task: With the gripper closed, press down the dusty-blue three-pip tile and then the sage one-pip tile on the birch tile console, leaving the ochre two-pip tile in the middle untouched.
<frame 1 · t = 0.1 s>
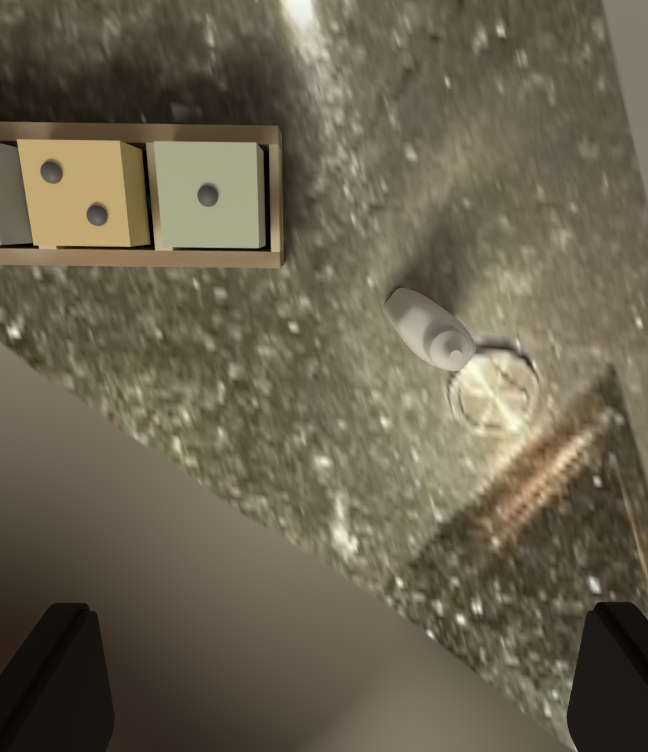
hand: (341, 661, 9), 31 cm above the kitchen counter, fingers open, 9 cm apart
tile one sage: (214, 197, 31), point 5 cm above the kitchen counter, slide at 0.0 cm
eye dropper bottle: (416, 316, 39), on the kitchen counter
tile console: (121, 199, 36), on the kitchen counter
tile two ochre: (88, 196, 31), point 5 cm above the kitchen counter, slide at 0.0 cm
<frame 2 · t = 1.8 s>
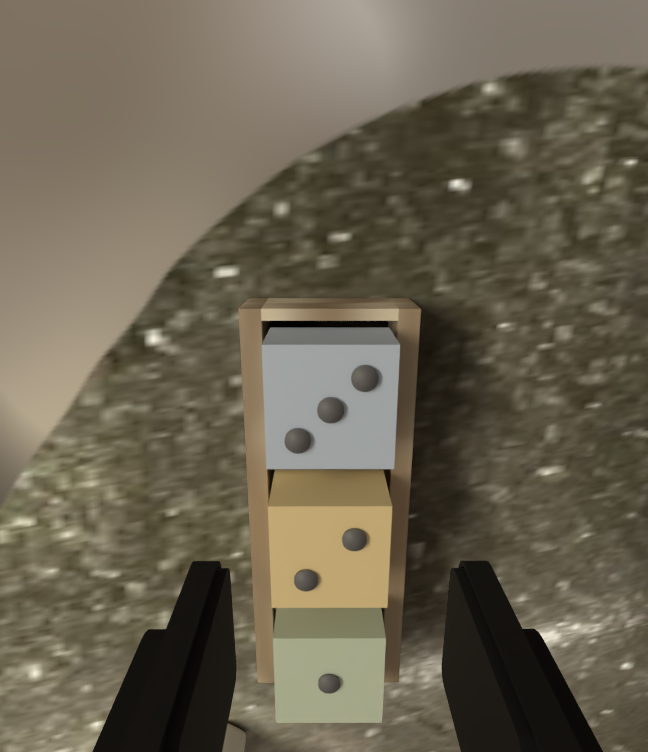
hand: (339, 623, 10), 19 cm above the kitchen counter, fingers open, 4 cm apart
tile one sage: (328, 655, 28), point 5 cm above the kitchen counter, slide at 0.0 cm
tile three blue: (330, 396, 24), point 5 cm above the kitchen counter, slide at 0.0 cm
eye dropper bottle: (217, 742, 38), on the kitchen counter
tile console: (328, 486, 31), on the kitchen counter
tile two ochre: (329, 537, 26), point 5 cm above the kitchen counter, slide at 0.0 cm
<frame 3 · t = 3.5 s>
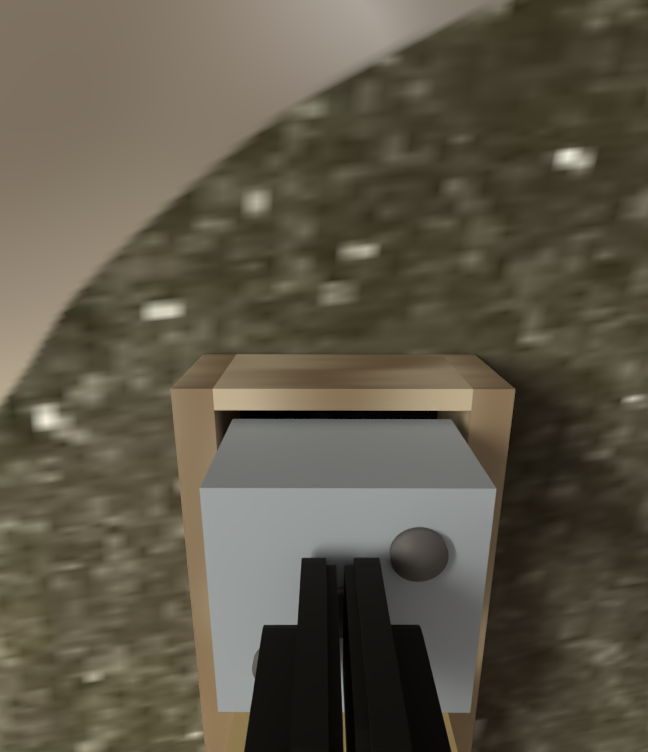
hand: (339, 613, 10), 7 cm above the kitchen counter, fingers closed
tile three blue: (343, 557, 12), point 5 cm above the kitchen counter, slide at -0.1 cm, touching gripper
tile console: (336, 642, 20), on the kitchen counter
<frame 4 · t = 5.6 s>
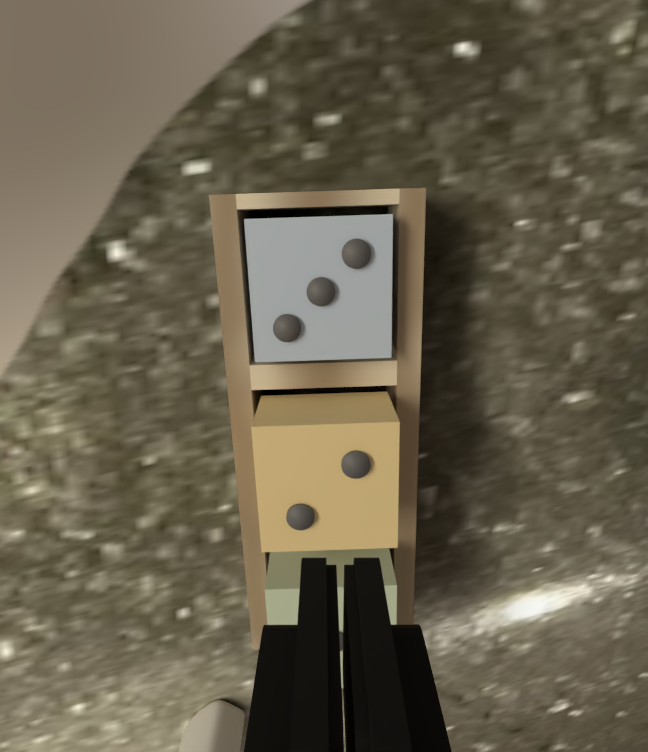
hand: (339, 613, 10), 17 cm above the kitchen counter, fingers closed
tile one sage: (331, 611, 25), point 5 cm above the kitchen counter, slide at 0.0 cm
tile three blue: (320, 286, 22), point 3 cm above the kitchen counter, slide at -2.5 cm
eye dropper bottle: (214, 723, 34), on the kitchen counter
tile console: (325, 424, 27), on the kitchen counter
tile two ochre: (326, 469, 22), point 5 cm above the kitchen counter, slide at 0.0 cm
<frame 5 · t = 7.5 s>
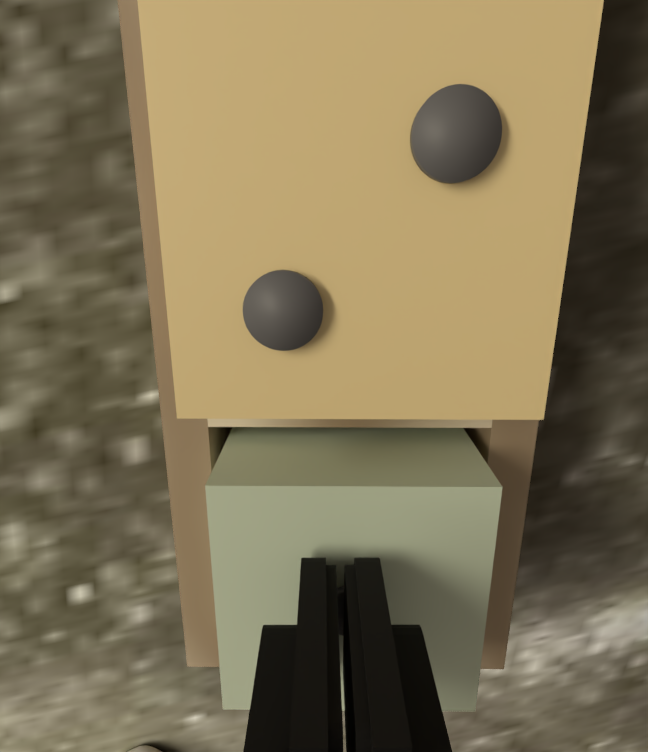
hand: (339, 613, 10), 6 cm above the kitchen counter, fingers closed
tile one sage: (347, 556, 12), point 4 cm above the kitchen counter, slide at -1.3 cm, touching gripper
tile console: (346, 226, 14), on the kitchen counter
tile two ochre: (357, 227, 9), point 5 cm above the kitchen counter, slide at 0.0 cm
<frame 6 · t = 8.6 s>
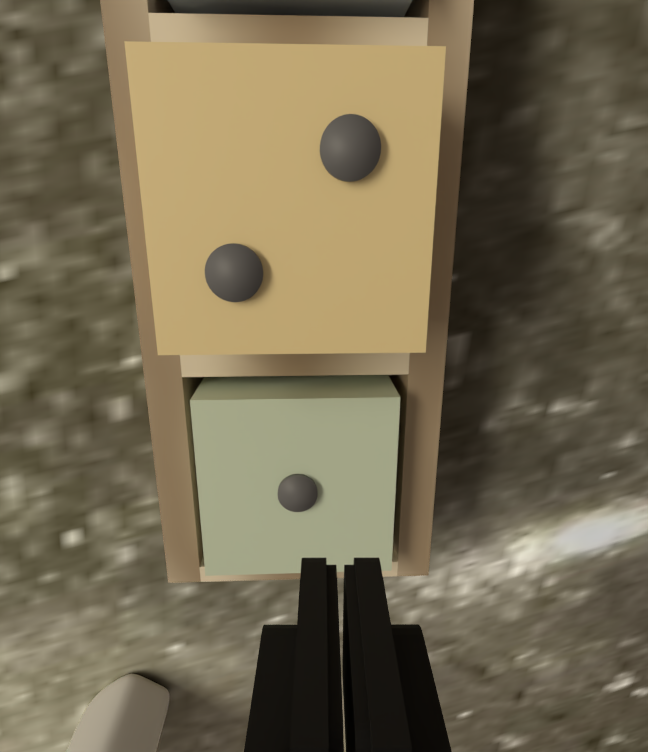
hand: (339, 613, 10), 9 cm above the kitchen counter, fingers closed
tile one sage: (298, 463, 17), point 3 cm above the kitchen counter, slide at -2.5 cm
eye dropper bottle: (125, 708, 23), on the kitchen counter
tile console: (295, 215, 17), on the kitchen counter
tile two ochre: (292, 213, 12), point 5 cm above the kitchen counter, slide at 0.0 cm
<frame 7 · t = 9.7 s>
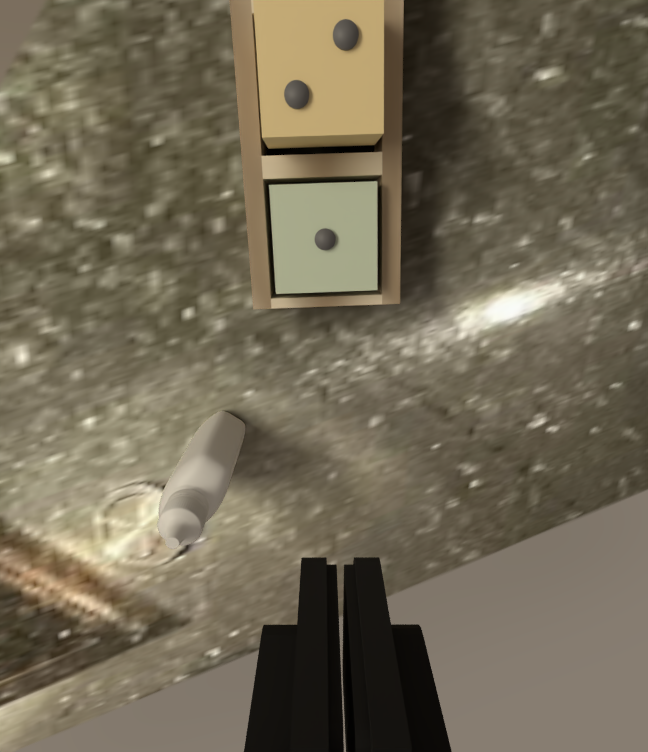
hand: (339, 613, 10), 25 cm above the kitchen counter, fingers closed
tile one sage: (324, 238, 30), point 3 cm above the kitchen counter, slide at -2.5 cm
eye dropper bottle: (216, 441, 37), on the kitchen counter
tile console: (318, 101, 30), on the kitchen counter
tile two ochre: (320, 76, 25), point 5 cm above the kitchen counter, slide at 0.0 cm
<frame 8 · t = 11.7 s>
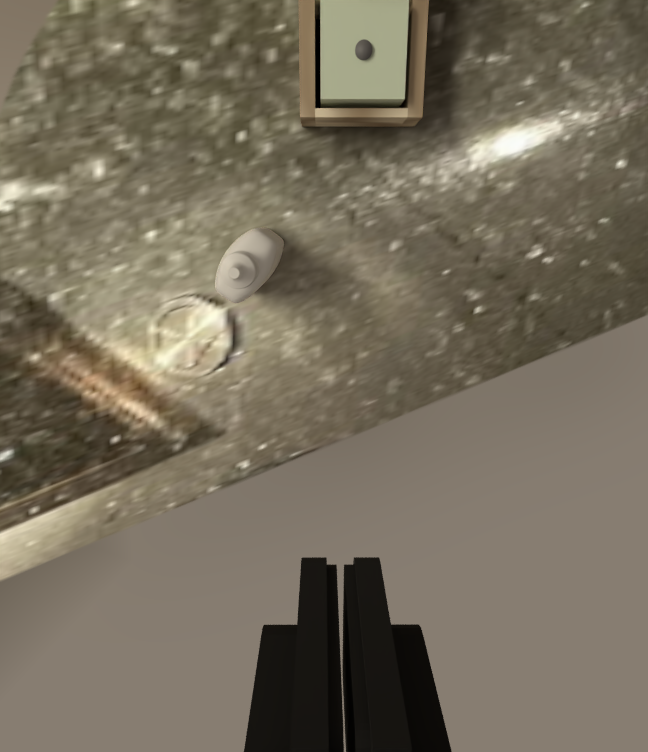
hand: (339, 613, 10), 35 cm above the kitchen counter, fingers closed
tile one sage: (361, 58, 36), point 3 cm above the kitchen counter, slide at -2.5 cm
eye dropper bottle: (258, 259, 43), on the kitchen counter
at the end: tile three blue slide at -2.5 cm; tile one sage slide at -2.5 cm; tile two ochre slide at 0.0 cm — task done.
